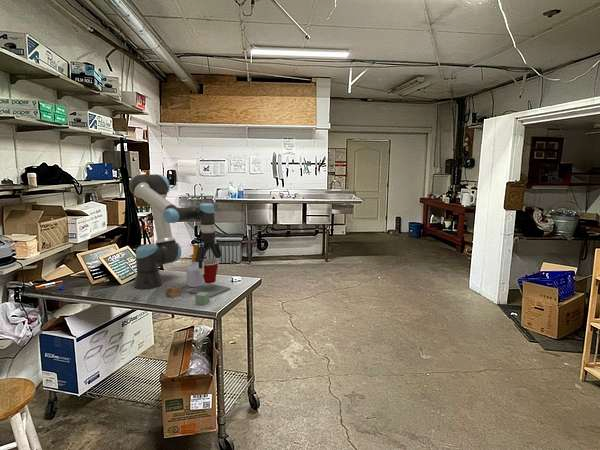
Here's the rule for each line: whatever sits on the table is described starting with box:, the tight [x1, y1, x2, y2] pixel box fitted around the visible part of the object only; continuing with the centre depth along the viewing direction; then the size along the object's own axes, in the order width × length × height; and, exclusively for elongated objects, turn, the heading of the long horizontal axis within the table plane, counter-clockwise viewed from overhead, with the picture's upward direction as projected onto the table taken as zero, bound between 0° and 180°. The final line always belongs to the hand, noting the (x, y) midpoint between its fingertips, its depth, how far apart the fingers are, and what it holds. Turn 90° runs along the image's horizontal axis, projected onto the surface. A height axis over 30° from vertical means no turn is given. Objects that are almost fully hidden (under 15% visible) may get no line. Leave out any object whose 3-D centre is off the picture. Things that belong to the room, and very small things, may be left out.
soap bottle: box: [186, 243, 204, 288], centre depth 214 cm, size 9×9×25 cm
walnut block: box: [165, 285, 181, 299], centre depth 197 cm, size 5×5×5 cm
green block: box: [194, 292, 210, 306], centre depth 186 cm, size 5×5×5 cm
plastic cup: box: [203, 258, 220, 284], centre depth 204 cm, size 11×11×12 cm
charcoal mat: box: [188, 283, 231, 299], centre depth 205 cm, size 16×16×1 cm
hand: (209, 271), depth 204 cm, fingers closed on plastic cup, 11 cm apart
